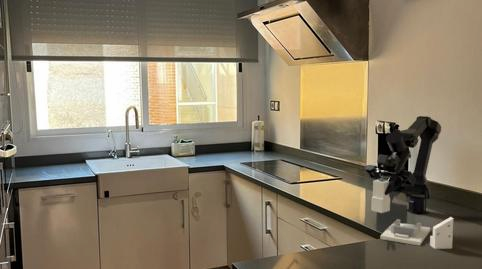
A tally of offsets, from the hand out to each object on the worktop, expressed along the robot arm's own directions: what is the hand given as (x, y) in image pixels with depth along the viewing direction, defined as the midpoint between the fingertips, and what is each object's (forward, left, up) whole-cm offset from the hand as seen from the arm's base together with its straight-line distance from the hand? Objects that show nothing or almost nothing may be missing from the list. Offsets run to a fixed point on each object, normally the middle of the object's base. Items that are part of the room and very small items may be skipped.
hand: (379, 193), depth 176 cm
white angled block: (-7, +23, -14) cm, 28 cm away
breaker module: (-1, 0, -7) cm, 7 cm away
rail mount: (-5, +9, -13) cm, 17 cm away
